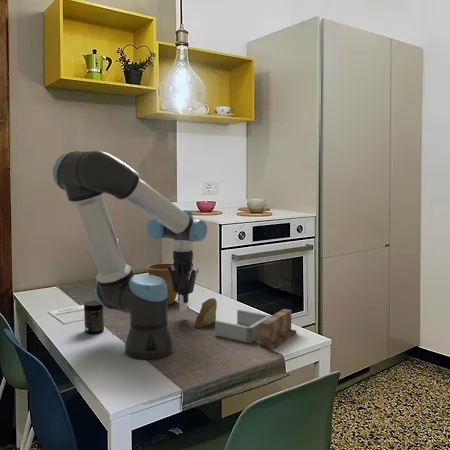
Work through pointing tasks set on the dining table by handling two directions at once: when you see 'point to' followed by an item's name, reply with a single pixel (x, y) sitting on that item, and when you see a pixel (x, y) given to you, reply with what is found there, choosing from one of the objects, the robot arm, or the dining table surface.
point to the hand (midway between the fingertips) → (183, 310)
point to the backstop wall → (276, 329)
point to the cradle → (241, 331)
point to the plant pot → (164, 273)
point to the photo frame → (67, 310)
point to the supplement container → (93, 317)
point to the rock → (207, 313)
